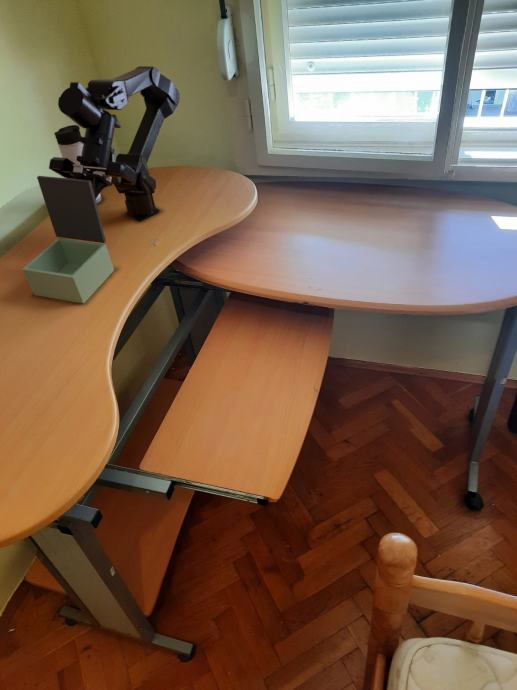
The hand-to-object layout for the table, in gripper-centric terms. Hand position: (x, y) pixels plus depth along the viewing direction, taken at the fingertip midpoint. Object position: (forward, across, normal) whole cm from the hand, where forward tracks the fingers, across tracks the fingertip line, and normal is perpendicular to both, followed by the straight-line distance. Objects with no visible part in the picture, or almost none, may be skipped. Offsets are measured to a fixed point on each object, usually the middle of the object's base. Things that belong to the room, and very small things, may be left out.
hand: (86, 209), depth 101 cm
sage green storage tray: (+16, 0, 0) cm, 16 cm away
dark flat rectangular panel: (+2, 0, +5) cm, 5 cm away
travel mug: (-8, +18, -25) cm, 32 cm away
